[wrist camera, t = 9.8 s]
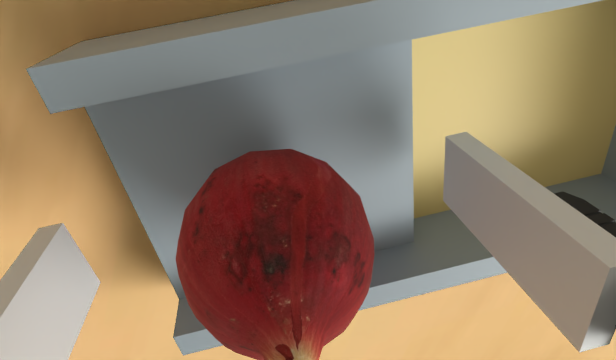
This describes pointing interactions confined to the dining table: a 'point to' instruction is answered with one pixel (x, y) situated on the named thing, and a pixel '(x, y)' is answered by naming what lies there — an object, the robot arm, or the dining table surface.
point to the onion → (275, 255)
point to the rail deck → (287, 122)
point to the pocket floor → (517, 96)
